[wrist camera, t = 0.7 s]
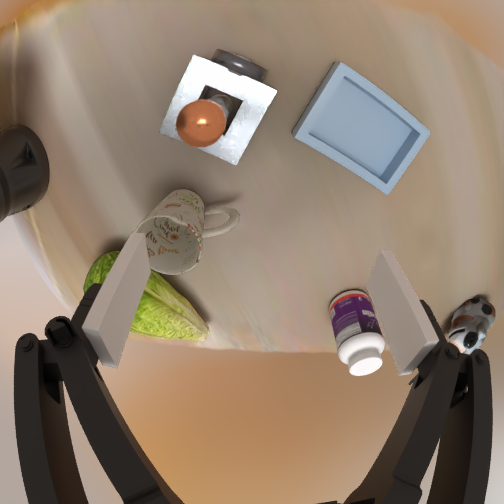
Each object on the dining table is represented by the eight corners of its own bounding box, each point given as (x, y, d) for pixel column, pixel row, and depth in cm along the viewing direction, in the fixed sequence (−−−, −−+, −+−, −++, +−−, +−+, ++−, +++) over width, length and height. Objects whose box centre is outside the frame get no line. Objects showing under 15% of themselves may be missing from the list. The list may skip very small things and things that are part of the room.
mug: (149, 188, 38) (122, 223, 30) (234, 168, 36) (227, 201, 28) (167, 236, 43) (149, 278, 35) (247, 222, 41) (245, 265, 33)
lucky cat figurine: (460, 334, 60) (457, 377, 51) (436, 313, 61) (431, 358, 52) (501, 309, 48) (504, 355, 39) (478, 284, 49) (481, 331, 41)
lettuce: (179, 357, 54) (208, 375, 44) (73, 297, 43) (73, 303, 33) (204, 307, 59) (238, 312, 49) (105, 241, 47) (115, 231, 37)
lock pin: (198, 113, 32) (168, 136, 21) (211, 86, 30) (187, 93, 19) (227, 126, 33) (212, 155, 22) (241, 98, 31) (233, 112, 20)
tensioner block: (168, 126, 33) (152, 137, 28) (207, 43, 27) (196, 37, 21) (238, 155, 35) (234, 172, 30) (282, 76, 29) (288, 77, 24)
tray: (291, 132, 33) (294, 137, 31) (334, 62, 28) (340, 62, 25) (379, 186, 37) (387, 195, 35) (419, 127, 31) (430, 132, 29)
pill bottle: (374, 303, 51) (396, 364, 40) (339, 322, 54) (354, 384, 43) (357, 280, 48) (381, 346, 36) (320, 302, 51) (333, 369, 39)
